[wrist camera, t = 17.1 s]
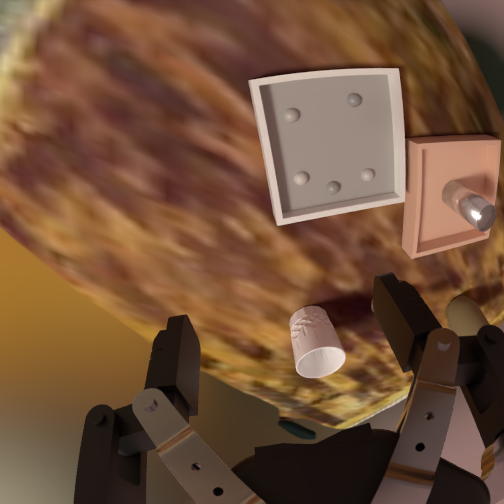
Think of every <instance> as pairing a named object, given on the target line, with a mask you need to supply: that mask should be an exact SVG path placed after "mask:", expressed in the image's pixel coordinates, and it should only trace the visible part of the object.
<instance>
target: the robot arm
mask: <svg viewBox="0 0 504 504" xmlns="http://www.w3.org/2000/svg"><path fill="white" fill-rule="evenodd" d="M372 304H373V311H374V314H375V317H376V319H377V321H378V322H379V324H380V326H381V328H382V330H383V332H384V334H385V336H386V338H387V340H388V342H389V344H390V346H391V348H392V350H393V352H394V354H395V356H396V358H397V360H398V362H399V364H400V367H401V369H402V371H403V373H405V372H408V371H411V370H412V371H413V373H414V377H413V381H412V384H411V387H410V391H409V394H408V397H407V400H406V403H405V406H404V409H403V412H402V415H401V417H400V420H399V422H398V425H397V427H396V429H395V432H393V431H390V430H384V429H371V426H370V423H367V424H363V425H360V426H357V427H353V428H349V429H346V430H342V431H340V432H338V433H336V434H335V435H332V436H330V437H328V438H326V439H324V440H322V441H320V442H318V443H315V444H289V443H282V444H276V445H269V446H262V447H255V454H254V455H251V456H249V457H247V458H245V459H243V460H242V461H240V462H239V463H238V464H236V465H235V466H234V467H233V468H232V469H231V470H230V469H229V468H228V467H227V466H226V465H225V464H224V463H223V462H222V461H221V460H220V459H219V458H218V457H217V456H216V454H215V453H214V452H213V451H212V450H211V449H210V448H209V447H208V446H207V445H206V444H205V443H204V442H203V440H202V439H201V438H200V437H199V436H198V435H197V434H196V432H195V431H194V430H193V429H192V428H191V427H190V425H189V416H196V415H198V392H199V371H200V353H201V350H200V343H199V339H198V337H197V335H196V333H195V330H194V328H193V326H192V324H191V322H190V319H189V317H188V316H187V315H186V314H185V315H179V316H173V317H169V319H168V323H167V329H166V330H161V331H159V333H158V334H157V336H156V338H155V339H154V342H153V346H152V352H151V357H150V359H151V360H150V361H149V367H148V372H147V378H146V383H145V388H144V390H143V391H142V392H140V393H139V394H138V395H137V396H136V397H135V399H134V401H133V403H132V404H130V405H128V406H125V407H122V408H119V409H116V410H113V409H112V408H111V407H109V406H108V405H103V404H102V405H97V406H95V407H93V408H92V409H91V410H90V411H89V412H88V414H87V416H86V419H85V424H84V430H83V436H82V442H81V447H80V454H79V461H78V468H77V475H76V484H75V493H74V504H146V467H147V451H148V450H152V449H155V448H157V449H158V451H157V452H158V454H159V456H160V457H161V459H162V460H163V461H164V463H165V464H166V466H167V467H168V468H169V470H170V471H171V472H172V473H173V475H174V476H175V477H176V479H177V480H178V481H179V482H180V484H181V485H182V486H183V487H184V488H185V490H186V491H187V492H188V493H189V494H190V496H191V497H192V498H193V499H194V500H195V502H196V503H197V504H495V503H497V502H498V501H500V500H501V499H503V498H504V333H503V331H502V330H501V329H500V328H498V327H496V326H494V325H485V326H482V327H481V328H480V329H479V331H478V333H477V335H472V336H458V335H457V334H456V333H455V332H454V331H452V330H450V329H447V328H442V326H441V325H440V323H439V322H438V320H437V319H436V318H435V316H434V315H433V313H432V312H431V310H430V309H429V307H428V306H427V304H425V302H424V300H423V299H422V297H420V295H419V293H418V292H417V290H416V289H415V288H414V287H413V286H412V285H410V284H409V283H407V282H406V281H402V282H399V280H398V279H397V278H396V276H395V275H394V274H393V273H392V272H390V273H386V274H382V275H378V276H375V278H374V290H373V303H372ZM454 386H460V388H461V389H462V392H463V394H464V397H465V399H466V401H467V403H468V405H469V408H470V411H471V413H472V415H473V418H474V420H475V423H476V425H477V428H478V430H479V433H480V435H481V438H482V440H483V443H484V446H485V451H484V452H483V454H482V458H481V470H482V475H481V477H480V478H479V477H478V476H476V475H474V474H472V473H470V472H468V471H466V470H464V469H462V468H460V467H458V466H456V465H454V464H453V463H451V462H449V461H447V460H445V459H443V458H441V457H440V456H441V453H442V449H443V446H444V442H445V439H446V435H447V431H448V428H449V424H450V420H451V416H452V411H453V406H454V402H455V396H456V387H454Z"/></svg>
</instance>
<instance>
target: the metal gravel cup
mask: <svg viewBox="0 0 504 504" xmlns="http://www.w3.org/2000/svg"><path fill="white" fill-rule="evenodd" d="M442 201H443V202H444V204H446V205H447V206H448V207H450V208H451V209H452V210H453V211H455V212H456V213H457V214H459V215H460V216H461V217H462V218H464V219H465V220H466V221H467V222H469V223H470V224H471V225H472V226H473V227H475V228H476V229H477V230H478V231H479V232H485V231H487V230H488V229H489V228H490V227H491V226H492V225H493V223H494V221H495V218H496V208H495V206H494V205H493V204H492V203H490V202H489V201H487V200H486V199H484V198H483V197H481V196H480V195H478V194H477V193H475V192H474V191H472V190H471V189H469V188H468V187H466V186H465V185H463V184H461V183H460V182H458V181H456V180H451V181H449V182H447V183H446V184H445V186H444V188H443V190H442Z"/></svg>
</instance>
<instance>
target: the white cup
mask: <svg viewBox="0 0 504 504" xmlns="http://www.w3.org/2000/svg"><path fill="white" fill-rule="evenodd" d="M290 330H291V339H292V346H293V352H294V358H295V365H296V370H297V372H298V373H299V374H300V375H301V376H303V377H307V378H319V377H324V376H327V375H329V374H331V373H333V372H335V371H337V370H338V369H339V368H340V367H341V366H342V365H343V364H344V362H345V360H346V354H345V352H344V349H343V347H342V345H341V342H340V340H339V338H338V336H337V333H336V331H335V329H334V327H333V325H332V323H331V322H330V320H329V318H328V316H327V313H326V311H325V310H324V309H322V308H321V307H319V306H306V307H303V308H301V309H299V310H297V311H296V312H295V313H294V314H293V315H292V317H291V319H290Z"/></svg>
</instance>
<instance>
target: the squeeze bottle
mask: <svg viewBox="0 0 504 504" xmlns="http://www.w3.org/2000/svg"><path fill="white" fill-rule="evenodd" d="M446 315H447V319H448V323H449V327H450V328H451V329H452V330H453V331H454V332H455V333H456V334H457V335H458V336H472V335H477V333H478V331H479V329H480V328H481V327H482V326H485V325H490V324H489V323H488V321H487V319H486V318H485V316H484V314H483V313H482V311H481V309H480V308H479V306H478V305H477V303H476V302H475V301H473V300H471V299H470V298H468V297H466V296H463V295H461V296H458V297H456V298H454V299H453V300H452V301H451V302H450V304H449V305H448V306H447V309H446Z"/></svg>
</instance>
